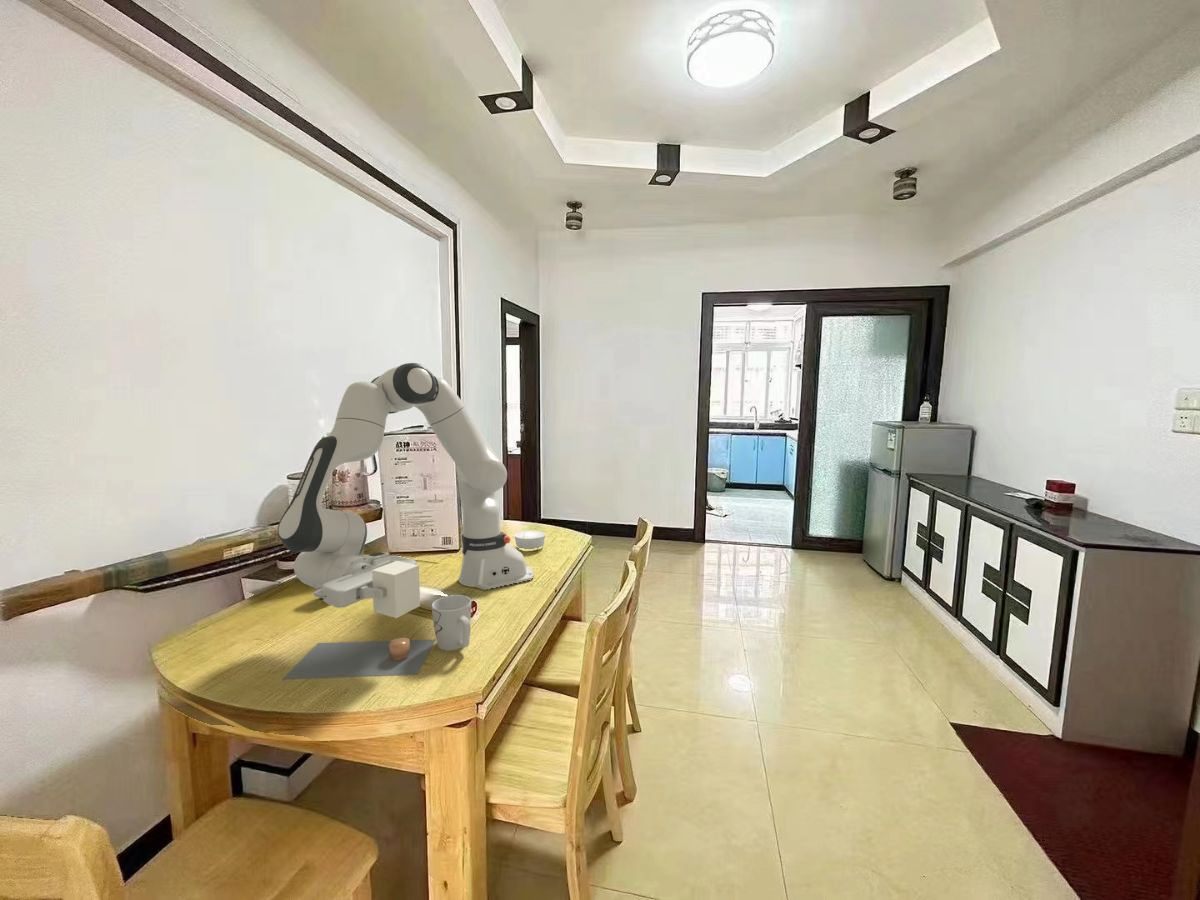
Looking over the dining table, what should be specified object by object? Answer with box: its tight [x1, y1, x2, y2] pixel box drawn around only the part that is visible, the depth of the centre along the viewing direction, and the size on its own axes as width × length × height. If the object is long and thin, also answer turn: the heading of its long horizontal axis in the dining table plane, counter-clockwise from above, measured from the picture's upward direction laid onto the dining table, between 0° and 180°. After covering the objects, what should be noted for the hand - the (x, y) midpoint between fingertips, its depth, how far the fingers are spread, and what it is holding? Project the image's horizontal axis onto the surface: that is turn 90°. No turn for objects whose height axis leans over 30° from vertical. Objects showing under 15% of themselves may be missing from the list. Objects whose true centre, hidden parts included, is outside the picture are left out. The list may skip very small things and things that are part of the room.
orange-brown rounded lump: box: [389, 637, 410, 661], centre depth 102 cm, size 4×4×3 cm
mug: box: [431, 594, 472, 652], centre depth 107 cm, size 11×8×10 cm
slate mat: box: [281, 638, 437, 681], centre depth 102 cm, size 26×14×1 cm, turn 94°
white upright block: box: [372, 561, 421, 619], centre depth 101 cm, size 6×6×9 cm
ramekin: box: [514, 530, 546, 549], centre depth 177 cm, size 11×11×5 cm
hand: (399, 586), depth 100 cm, fingers closed on white upright block, 6 cm apart
